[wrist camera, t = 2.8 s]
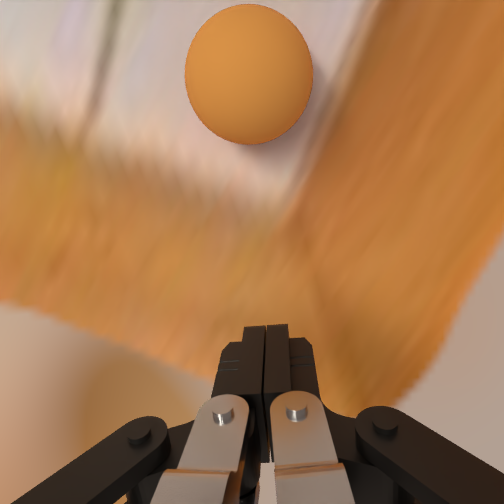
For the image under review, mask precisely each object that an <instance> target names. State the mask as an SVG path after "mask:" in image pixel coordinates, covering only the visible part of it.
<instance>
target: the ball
mask: <svg viewBox="0 0 504 504" xmlns="http://www.w3.org/2000/svg"><path fill="white" fill-rule="evenodd" d="M312 82H313V67H312V60H311V55H310V52H309V49H308V46H307V44H306V42H305V40H304V38H303V36H302V34H301V33H300V32H299V30H298V29H297V27H296V26H295V25H294V24H293V23H292V22H291V21H290V20H289V19H287V18H286V17H285V16H284V15H282V14H280V13H279V12H277V11H275V10H273V9H271V8H268V7H265V6H261V5H255V4H241V5H236V6H232V7H229V8H226V9H224V10H222V11H220V12H218V13H217V14H215V15H214V16H212V17H211V18H210V19H208V20H207V21H206V23H205V24H204V25H203V26H202V27H201V28H200V29H199V31H198V32H197V33H196V35H195V37H194V39H193V41H192V43H191V45H190V48H189V50H188V54H187V58H186V64H185V84H186V90H187V94H188V97H189V100H190V103H191V105H192V107H193V109H194V111H195V113H196V115H197V116H198V118H199V119H200V120H201V121H202V123H203V124H204V125H205V126H206V127H207V128H208V129H209V130H210V131H212V132H213V133H215V134H216V135H217V136H219V137H221V138H223V139H225V140H228V141H230V142H234V143H238V144H247V145H248V144H260V143H264V142H267V141H271V140H273V139H275V138H277V137H279V136H280V135H282V134H283V133H285V132H286V131H287V130H289V129H290V128H291V127H292V126H293V125H294V124H295V123H296V121H297V120H298V119H299V117H300V116H301V115H302V113H303V111H304V109H305V107H306V105H307V102H308V100H309V97H310V93H311V89H312Z"/></svg>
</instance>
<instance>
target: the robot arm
mask: <svg viewBox="0 0 504 504" xmlns="http://www.w3.org/2000/svg"><path fill="white" fill-rule="evenodd" d="M270 451H271V459H272V462H274V463H275V470H274V472H275V485H276V496H277V504H504V474H503V473H502V472H500V471H498V470H497V469H495V468H494V467H492V466H490V465H489V464H487V463H485V462H484V461H482V460H480V459H479V458H477V457H475V456H474V455H472V454H471V453H469V452H467V451H466V450H464V449H462V448H461V447H459V446H457V445H456V444H454V443H452V442H451V441H449V440H447V439H446V438H444V437H443V436H441V435H439V434H438V433H436V432H434V431H433V430H431V429H429V428H428V427H426V426H424V425H423V424H421V423H420V422H418V421H416V420H415V419H413V418H411V417H410V416H408V415H406V414H405V413H403V412H401V411H399V410H397V409H394V408H391V407H386V406H374V407H369V408H367V409H365V410H363V411H361V412H360V413H359V414H358V416H357V417H356V419H355V418H350V417H346V416H342V415H339V414H336V413H334V412H332V411H331V410H329V409H328V408H327V407H326V406H325V405H324V404H323V403H322V401H321V398H320V394H319V387H318V381H317V375H316V368H315V362H314V355H313V349H312V345H311V344H310V343H309V342H308V341H307V340H306V339H305V338H304V337H303V338H289V331H288V324H279V325H267V331H266V326H250V327H244V331H243V338H242V342H230V343H229V344H228V345H227V346H226V347H225V348H224V349H223V351H222V353H221V357H220V363H219V366H218V371H217V374H216V378H215V383H214V387H213V391H212V395H211V399H209V400H208V401H206V402H205V403H204V404H203V405H202V406H201V407H200V409H199V411H198V413H197V416H196V419H195V420H193V421H191V422H188V423H186V424H183V425H179V426H176V427H172V428H169V429H167V425H166V423H165V422H164V421H163V420H162V419H160V418H158V417H153V416H146V417H141V418H137V419H134V420H132V421H130V422H128V423H127V424H125V425H124V426H122V427H121V428H119V429H118V430H117V431H115V432H114V433H112V434H111V435H109V436H108V437H106V438H105V439H103V440H102V441H101V442H99V443H98V444H96V445H95V446H93V447H92V448H91V449H89V450H88V451H86V452H85V453H83V454H82V455H80V456H79V457H78V458H76V459H75V460H73V461H72V462H70V463H69V464H67V465H66V466H65V467H63V468H62V469H60V470H59V471H57V472H56V473H54V474H53V475H52V476H50V477H49V478H47V479H46V480H44V481H43V482H41V483H40V484H38V485H37V486H36V487H34V488H33V489H31V490H30V491H28V492H27V493H25V494H24V495H23V496H21V497H20V498H18V499H17V500H16V501H14V502H13V503H11V504H113V503H115V502H116V501H117V500H118V499H120V498H121V497H122V496H123V495H125V494H126V497H127V502H125V503H124V504H258V500H259V492H260V486H259V478H260V466H261V463H269V461H270V458H269V457H270Z"/></svg>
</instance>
